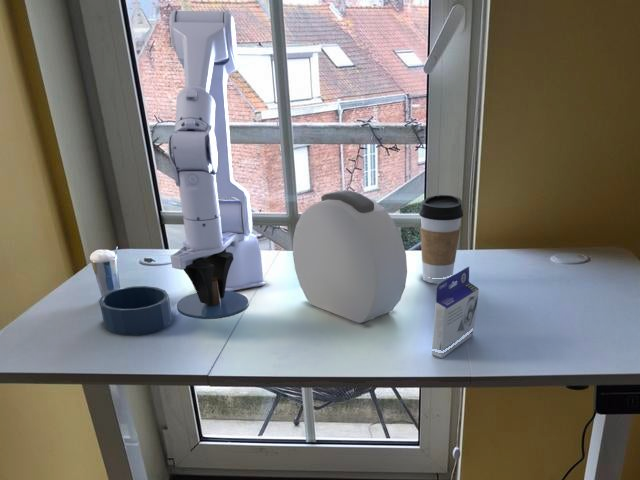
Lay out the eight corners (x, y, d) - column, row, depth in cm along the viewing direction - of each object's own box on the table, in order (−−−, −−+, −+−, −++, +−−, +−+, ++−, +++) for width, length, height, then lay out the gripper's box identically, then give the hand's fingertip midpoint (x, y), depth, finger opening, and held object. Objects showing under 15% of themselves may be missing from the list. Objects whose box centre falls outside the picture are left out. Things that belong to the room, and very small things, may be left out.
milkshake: (122, 306, 133) (110, 250, 127) (95, 304, 134) (82, 248, 128) (134, 298, 136) (123, 243, 130) (107, 295, 137) (95, 241, 131)
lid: (191, 294, 130) (187, 265, 127) (257, 298, 129) (255, 269, 126) (166, 320, 120) (161, 289, 117) (237, 325, 119) (234, 294, 116)
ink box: (443, 360, 117) (448, 288, 110) (430, 356, 118) (434, 285, 111) (475, 335, 124) (481, 267, 118) (463, 332, 125) (468, 265, 118)
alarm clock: (406, 318, 130) (409, 200, 118) (377, 330, 126) (378, 209, 114) (323, 288, 142) (320, 178, 130) (294, 298, 137) (287, 185, 125)
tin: (145, 305, 133) (141, 281, 131) (185, 321, 128) (181, 296, 125) (92, 323, 126) (86, 298, 124) (131, 341, 121) (126, 315, 118)
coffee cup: (465, 276, 148) (472, 198, 139) (445, 289, 142) (450, 208, 133) (429, 269, 151) (433, 192, 142) (408, 280, 146) (411, 201, 137)
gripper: (210, 202, 122) (220, 282, 130) (150, 223, 112) (164, 309, 120) (245, 207, 119) (252, 289, 128) (186, 230, 109) (198, 317, 117)
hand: (212, 299), depth 124 cm, fingers closed on lid, 2 cm apart
